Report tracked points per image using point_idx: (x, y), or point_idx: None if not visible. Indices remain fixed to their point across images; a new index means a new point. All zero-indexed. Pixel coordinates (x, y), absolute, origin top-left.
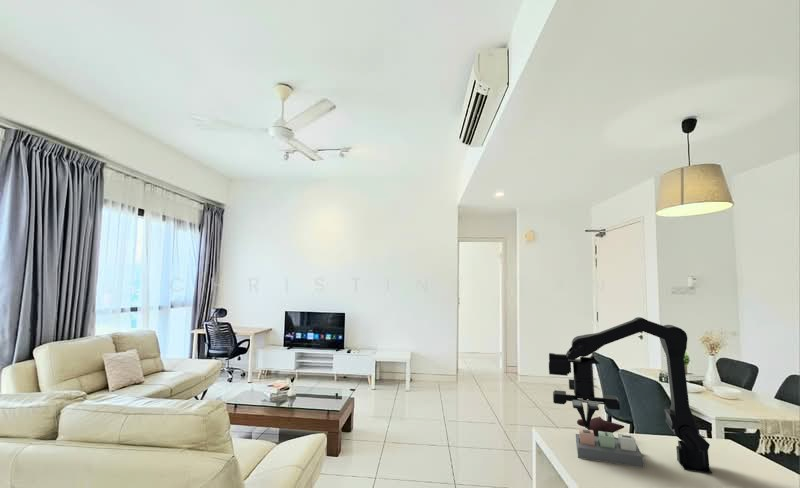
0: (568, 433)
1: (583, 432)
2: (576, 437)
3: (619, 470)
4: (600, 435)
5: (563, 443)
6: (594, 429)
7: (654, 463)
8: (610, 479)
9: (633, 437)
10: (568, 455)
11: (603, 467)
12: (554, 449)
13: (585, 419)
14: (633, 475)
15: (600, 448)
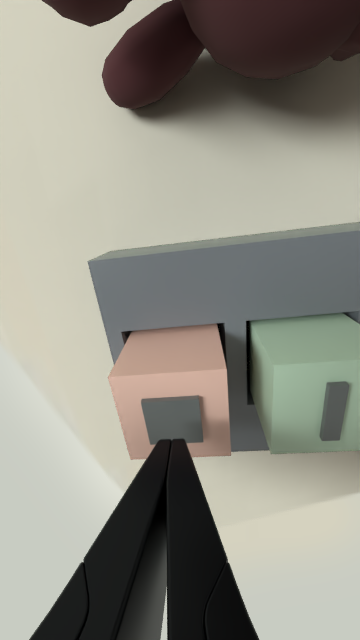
0: (14, 49)
1: (152, 439)
2: (107, 331)
3: (299, 453)
4: (278, 446)
5: (48, 286)
6: (238, 54)
7: None
8: (255, 510)
9: None
10: (106, 410)
11: (242, 452)
12: (36, 378)
13: (162, 607)
14: (342, 468)
15: (250, 428)
